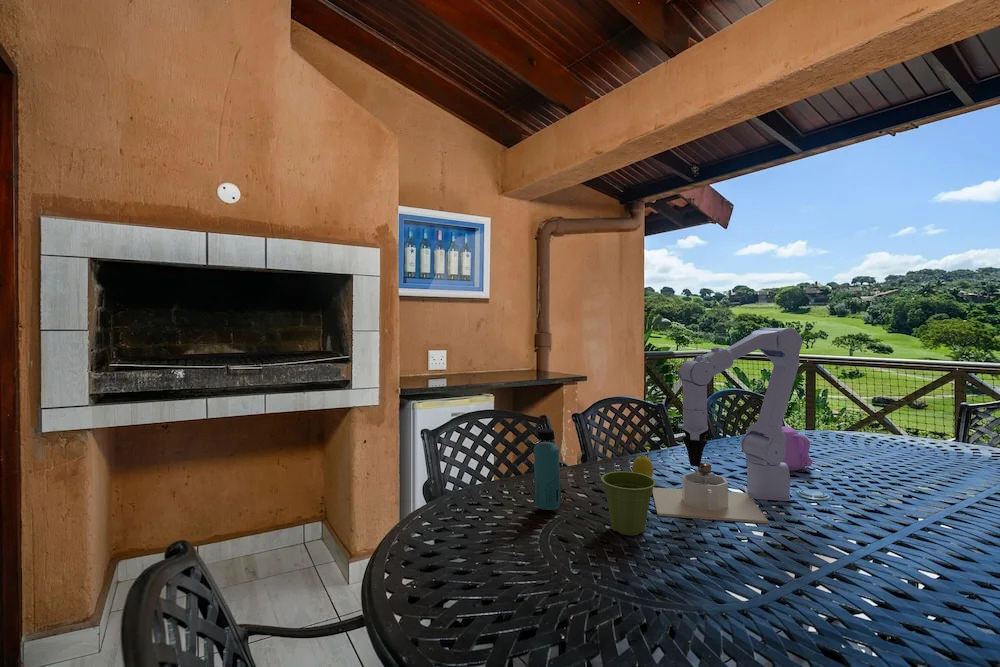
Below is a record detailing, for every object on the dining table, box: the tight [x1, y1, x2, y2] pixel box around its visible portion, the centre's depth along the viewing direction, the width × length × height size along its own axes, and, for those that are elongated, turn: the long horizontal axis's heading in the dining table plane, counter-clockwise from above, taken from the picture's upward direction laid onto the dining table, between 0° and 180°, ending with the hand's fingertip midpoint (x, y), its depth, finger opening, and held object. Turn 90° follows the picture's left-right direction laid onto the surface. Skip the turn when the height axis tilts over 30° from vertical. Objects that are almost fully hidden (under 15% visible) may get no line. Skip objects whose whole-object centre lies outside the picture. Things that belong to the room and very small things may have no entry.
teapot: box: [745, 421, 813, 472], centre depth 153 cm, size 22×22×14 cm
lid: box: [694, 462, 716, 485], centre depth 122 cm, size 8×8×6 cm
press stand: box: [652, 471, 770, 524], centre depth 122 cm, size 24×18×7 cm
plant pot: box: [600, 470, 657, 537], centre depth 109 cm, size 12×12×11 cm
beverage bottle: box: [533, 428, 562, 511], centre depth 120 cm, size 6×7×20 cm
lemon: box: [632, 454, 654, 478], centre depth 139 cm, size 6×6×8 cm
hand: (695, 461), depth 124 cm, fingers open, 7 cm apart
